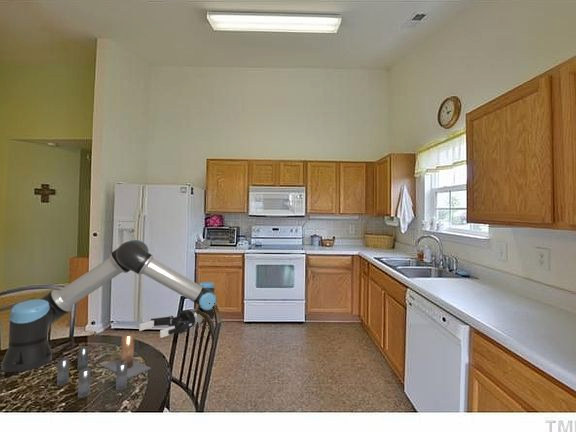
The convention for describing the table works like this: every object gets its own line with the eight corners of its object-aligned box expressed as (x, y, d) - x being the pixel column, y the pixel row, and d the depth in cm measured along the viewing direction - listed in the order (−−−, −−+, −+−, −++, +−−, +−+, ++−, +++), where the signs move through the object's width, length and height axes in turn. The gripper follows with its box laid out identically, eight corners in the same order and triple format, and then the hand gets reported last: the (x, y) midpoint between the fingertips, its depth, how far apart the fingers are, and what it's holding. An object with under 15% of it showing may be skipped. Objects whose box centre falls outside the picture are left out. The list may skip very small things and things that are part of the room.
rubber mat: (101, 366, 119) (102, 365, 119) (124, 358, 127) (124, 357, 127) (128, 378, 111) (128, 377, 111) (150, 369, 118) (150, 367, 118)
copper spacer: (117, 367, 118) (119, 335, 119) (128, 363, 122) (130, 332, 122) (124, 370, 116) (126, 337, 116) (135, 365, 120) (137, 334, 120)
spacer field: (47, 379, 109) (48, 356, 109) (84, 366, 119) (85, 345, 120) (90, 404, 94) (91, 377, 95) (128, 387, 105) (129, 363, 105)
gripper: (209, 332, 139) (169, 346, 121) (172, 321, 152) (131, 333, 134) (209, 315, 140) (170, 327, 121) (172, 306, 152) (132, 316, 134)
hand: (149, 330), depth 128 cm, fingers open, 13 cm apart
